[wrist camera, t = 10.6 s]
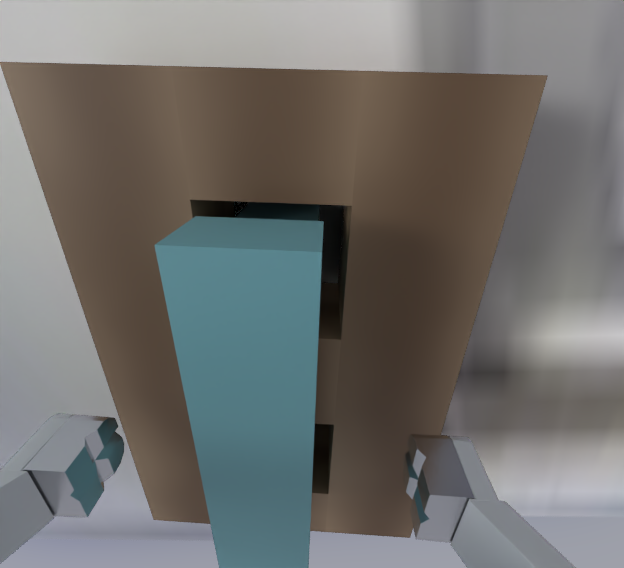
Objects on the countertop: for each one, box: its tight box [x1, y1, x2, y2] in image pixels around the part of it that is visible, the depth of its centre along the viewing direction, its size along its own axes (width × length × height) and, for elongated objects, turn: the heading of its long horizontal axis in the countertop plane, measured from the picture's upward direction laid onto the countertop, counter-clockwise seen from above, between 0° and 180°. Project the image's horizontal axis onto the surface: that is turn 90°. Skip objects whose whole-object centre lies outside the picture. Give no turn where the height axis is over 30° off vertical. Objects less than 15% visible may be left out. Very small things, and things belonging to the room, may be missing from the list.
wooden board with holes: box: [0, 62, 547, 538], centre depth 13 cm, size 12×18×4 cm, turn 178°
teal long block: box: [154, 202, 324, 568], centre depth 12 cm, size 3×12×7 cm, turn 178°
